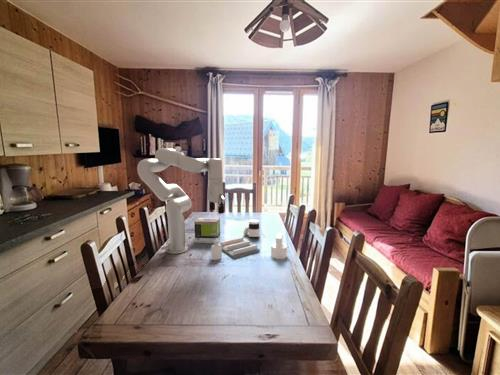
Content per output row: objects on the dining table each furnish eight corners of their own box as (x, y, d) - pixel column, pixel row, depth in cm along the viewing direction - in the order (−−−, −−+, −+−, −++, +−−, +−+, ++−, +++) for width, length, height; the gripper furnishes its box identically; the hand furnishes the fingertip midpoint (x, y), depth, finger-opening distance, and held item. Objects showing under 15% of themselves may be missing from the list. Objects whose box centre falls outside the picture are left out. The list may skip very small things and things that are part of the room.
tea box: (220, 238, 175) (220, 217, 173) (217, 244, 165) (217, 221, 163) (199, 237, 177) (198, 216, 174) (194, 243, 167) (193, 221, 165)
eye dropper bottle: (212, 256, 146) (212, 236, 144) (222, 257, 146) (222, 237, 144) (210, 260, 142) (210, 239, 140) (220, 260, 142) (220, 239, 140)
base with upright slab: (286, 259, 144) (286, 239, 142) (270, 258, 145) (270, 237, 144) (287, 253, 152) (287, 233, 150) (272, 251, 154) (272, 232, 152)
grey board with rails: (233, 258, 144) (233, 252, 143) (218, 247, 159) (218, 241, 159) (259, 251, 154) (259, 245, 153) (242, 241, 169) (242, 236, 169)
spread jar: (259, 239, 174) (259, 223, 172) (242, 239, 174) (243, 222, 172) (259, 233, 186) (259, 218, 184) (243, 233, 186) (243, 217, 184)
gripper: (202, 180, 145) (203, 209, 148) (217, 183, 131) (218, 215, 134) (213, 179, 149) (214, 207, 152) (229, 182, 136) (230, 213, 138)
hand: (216, 211), depth 143 cm, fingers open, 9 cm apart
